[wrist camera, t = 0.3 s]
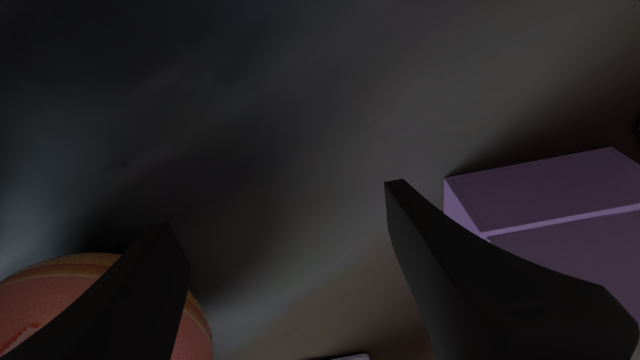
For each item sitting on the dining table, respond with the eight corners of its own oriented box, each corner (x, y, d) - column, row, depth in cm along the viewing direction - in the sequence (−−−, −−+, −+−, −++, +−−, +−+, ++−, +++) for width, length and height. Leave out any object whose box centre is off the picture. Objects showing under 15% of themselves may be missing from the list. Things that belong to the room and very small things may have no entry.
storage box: (443, 177, 25) (486, 242, 20) (611, 145, 25) (699, 203, 20) (442, 314, 33) (473, 387, 27) (571, 291, 32) (626, 360, 27)
